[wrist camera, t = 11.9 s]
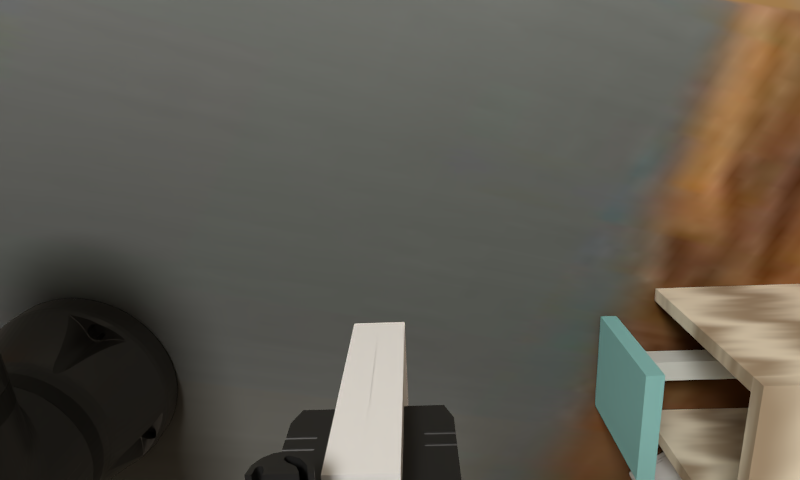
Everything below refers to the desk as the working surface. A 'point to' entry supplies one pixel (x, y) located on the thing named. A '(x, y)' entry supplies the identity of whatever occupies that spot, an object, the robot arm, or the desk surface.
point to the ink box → (663, 469)
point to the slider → (641, 390)
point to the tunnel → (755, 368)
